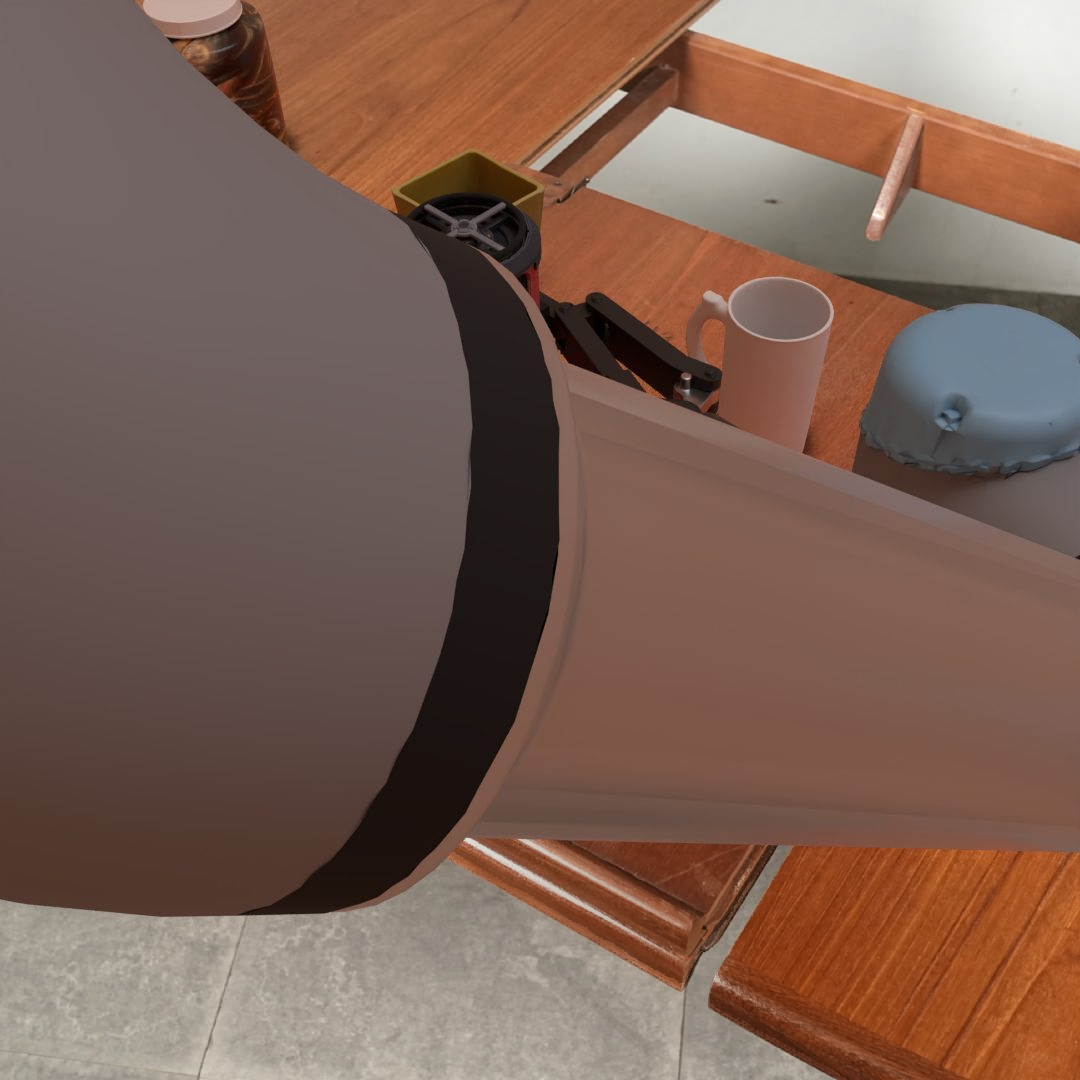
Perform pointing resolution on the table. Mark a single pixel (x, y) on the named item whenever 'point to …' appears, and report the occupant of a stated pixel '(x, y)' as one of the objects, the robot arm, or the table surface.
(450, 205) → the speaker
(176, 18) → the jar
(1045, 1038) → the table surface
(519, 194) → the flower pot
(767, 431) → the mug
